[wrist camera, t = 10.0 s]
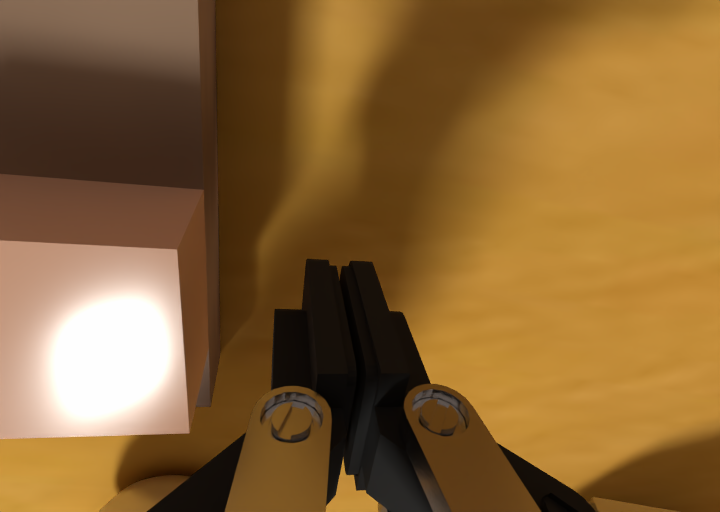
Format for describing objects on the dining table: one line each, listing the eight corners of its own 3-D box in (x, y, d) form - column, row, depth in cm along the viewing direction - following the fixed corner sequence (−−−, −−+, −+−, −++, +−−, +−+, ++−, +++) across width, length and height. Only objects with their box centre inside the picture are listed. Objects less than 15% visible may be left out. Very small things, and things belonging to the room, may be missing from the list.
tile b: (-37, 170, 9) (-157, 232, 7) (203, 189, 10) (177, 249, 8) (17, 346, 12) (-57, 440, 9) (208, 347, 13) (189, 433, 10)
